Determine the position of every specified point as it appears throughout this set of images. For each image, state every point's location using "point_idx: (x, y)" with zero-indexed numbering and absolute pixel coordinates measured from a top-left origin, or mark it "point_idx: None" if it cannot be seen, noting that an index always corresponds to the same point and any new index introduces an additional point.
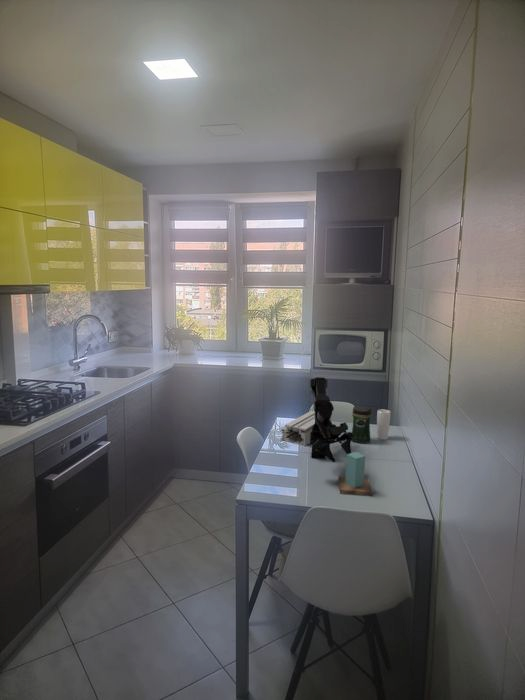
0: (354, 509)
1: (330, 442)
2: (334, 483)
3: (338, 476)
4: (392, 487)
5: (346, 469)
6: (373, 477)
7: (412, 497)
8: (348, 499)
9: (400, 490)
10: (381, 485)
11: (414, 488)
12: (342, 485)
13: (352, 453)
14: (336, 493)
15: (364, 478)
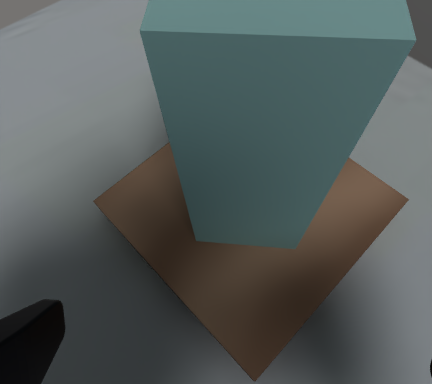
0: (426, 69)
1: None
2: (330, 347)
3: (256, 377)
4: (67, 98)
5: (324, 192)
6: (7, 232)
7: (101, 13)
8: (391, 138)
9: (71, 65)
10: (86, 139)
11: (3, 46)
12: (347, 233)
13: (272, 17)
14: (417, 224)
15: (113, 213)
